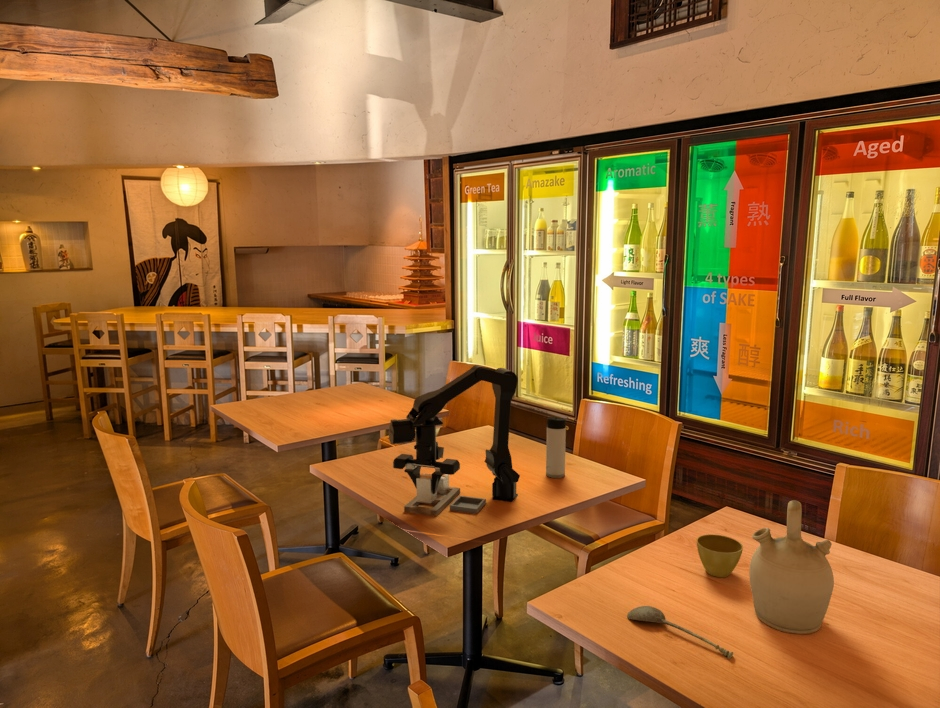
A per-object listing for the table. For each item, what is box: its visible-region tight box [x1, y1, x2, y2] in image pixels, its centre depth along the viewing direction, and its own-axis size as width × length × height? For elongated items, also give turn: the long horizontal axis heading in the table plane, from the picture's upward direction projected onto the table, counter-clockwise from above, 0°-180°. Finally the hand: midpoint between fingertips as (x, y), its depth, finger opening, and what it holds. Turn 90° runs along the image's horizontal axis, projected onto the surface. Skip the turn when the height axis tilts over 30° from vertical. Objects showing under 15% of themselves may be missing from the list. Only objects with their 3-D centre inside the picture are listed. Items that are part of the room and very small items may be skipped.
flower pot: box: [696, 533, 744, 578], centre depth 152 cm, size 10×10×7 cm
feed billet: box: [416, 473, 437, 504], centre depth 189 cm, size 4×4×7 cm
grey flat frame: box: [403, 486, 461, 517], centre depth 194 cm, size 10×19×2 cm, turn 160°
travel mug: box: [545, 416, 567, 479], centre depth 217 cm, size 6×7×20 cm
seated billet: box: [437, 474, 450, 496], centre depth 199 cm, size 4×4×7 cm
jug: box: [749, 499, 835, 635], centre depth 131 cm, size 15×16×25 cm
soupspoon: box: [626, 605, 734, 660], centre depth 128 cm, size 22×3×7 cm
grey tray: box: [449, 495, 487, 515], centre depth 191 cm, size 8×8×2 cm
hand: (426, 492), depth 189 cm, fingers closed on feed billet, 4 cm apart
